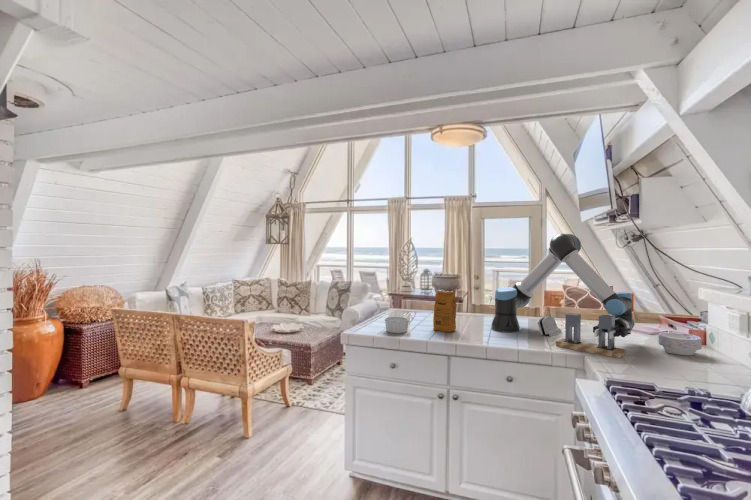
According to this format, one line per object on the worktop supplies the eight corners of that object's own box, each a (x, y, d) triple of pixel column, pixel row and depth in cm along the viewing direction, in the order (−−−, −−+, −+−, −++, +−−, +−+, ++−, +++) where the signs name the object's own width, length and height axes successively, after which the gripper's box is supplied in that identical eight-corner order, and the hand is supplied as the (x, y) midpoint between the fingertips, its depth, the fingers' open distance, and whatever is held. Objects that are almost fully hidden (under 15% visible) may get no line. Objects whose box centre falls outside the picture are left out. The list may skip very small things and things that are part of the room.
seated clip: (565, 346, 178) (565, 314, 178) (569, 345, 182) (569, 312, 181) (576, 349, 174) (577, 315, 174) (580, 347, 178) (580, 314, 178)
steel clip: (598, 350, 168) (598, 315, 168) (601, 348, 171) (602, 314, 171) (611, 352, 164) (611, 317, 164) (614, 350, 168) (614, 315, 168)
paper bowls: (649, 348, 177) (650, 331, 177) (680, 348, 178) (680, 331, 178) (677, 358, 162) (677, 339, 162) (711, 357, 163) (711, 339, 163)
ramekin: (408, 329, 214) (409, 316, 214) (408, 334, 201) (408, 321, 201) (385, 328, 216) (385, 316, 215) (383, 333, 202) (383, 320, 202)
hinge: (550, 336, 199) (544, 317, 201) (541, 338, 202) (535, 319, 204) (561, 331, 211) (555, 314, 213) (553, 333, 214) (547, 315, 216)
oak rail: (556, 346, 179) (556, 341, 179) (562, 343, 185) (562, 338, 185) (619, 358, 161) (619, 352, 161) (624, 354, 166) (624, 348, 166)
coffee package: (438, 327, 220) (438, 289, 219) (458, 330, 212) (458, 291, 212) (430, 330, 212) (430, 290, 211) (450, 333, 204) (451, 292, 204)
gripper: (640, 338, 174) (627, 347, 158) (596, 331, 187) (580, 339, 171) (640, 321, 174) (627, 329, 158) (597, 316, 187) (580, 322, 171)
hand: (602, 334), depth 164 cm, fingers closed on steel clip, 5 cm apart
